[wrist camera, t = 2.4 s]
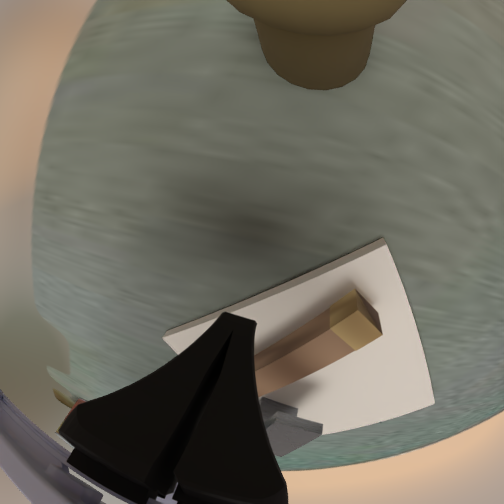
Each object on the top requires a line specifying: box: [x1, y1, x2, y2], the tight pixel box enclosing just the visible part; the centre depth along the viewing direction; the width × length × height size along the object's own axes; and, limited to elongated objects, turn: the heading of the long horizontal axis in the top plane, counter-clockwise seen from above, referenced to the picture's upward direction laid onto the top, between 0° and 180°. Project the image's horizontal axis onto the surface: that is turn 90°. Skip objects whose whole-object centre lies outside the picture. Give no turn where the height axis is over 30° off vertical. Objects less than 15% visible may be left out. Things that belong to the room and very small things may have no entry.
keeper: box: [259, 397, 323, 457], centre depth 21 cm, size 10×7×5 cm
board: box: [162, 238, 435, 435], centre depth 22 cm, size 20×21×1 cm
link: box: [254, 289, 383, 397], centre depth 18 cm, size 15×4×2 cm, turn 139°
